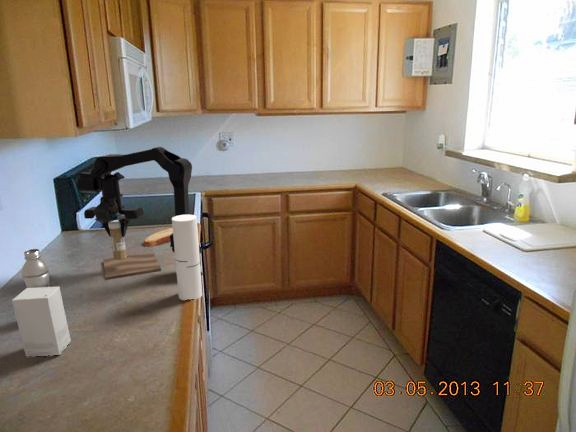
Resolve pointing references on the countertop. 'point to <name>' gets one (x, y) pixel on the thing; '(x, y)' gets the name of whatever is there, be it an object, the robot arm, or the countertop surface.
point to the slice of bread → (158, 238)
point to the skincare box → (41, 321)
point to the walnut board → (131, 265)
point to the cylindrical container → (187, 256)
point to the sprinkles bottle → (117, 240)
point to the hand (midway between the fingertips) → (117, 236)
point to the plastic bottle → (35, 270)
